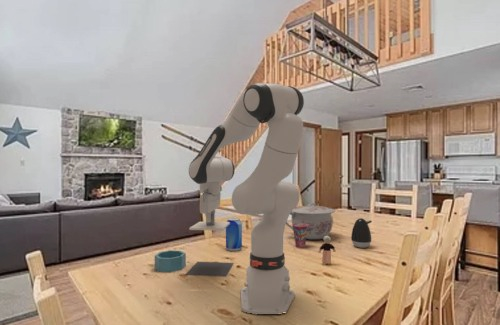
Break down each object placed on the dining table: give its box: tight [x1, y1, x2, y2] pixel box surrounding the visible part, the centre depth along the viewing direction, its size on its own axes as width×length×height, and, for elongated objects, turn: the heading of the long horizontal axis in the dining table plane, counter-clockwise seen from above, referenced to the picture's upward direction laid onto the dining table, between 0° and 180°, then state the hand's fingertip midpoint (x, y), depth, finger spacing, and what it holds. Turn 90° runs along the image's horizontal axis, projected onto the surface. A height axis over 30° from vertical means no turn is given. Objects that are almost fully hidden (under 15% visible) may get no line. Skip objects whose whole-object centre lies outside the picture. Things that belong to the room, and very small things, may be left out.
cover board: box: [188, 213, 230, 231], centre depth 135 cm, size 14×14×5 cm
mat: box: [184, 261, 235, 278], centre depth 135 cm, size 17×17×1 cm
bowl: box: [154, 249, 187, 273], centre depth 137 cm, size 12×12×6 cm
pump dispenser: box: [350, 217, 372, 249], centre depth 169 cm, size 10×10×15 cm
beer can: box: [225, 217, 243, 252], centre depth 166 cm, size 8×8×16 cm
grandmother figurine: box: [317, 235, 337, 266], centre depth 141 cm, size 8×4×13 cm, turn 105°
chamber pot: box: [285, 202, 336, 241], centre depth 191 cm, size 28×28×21 cm
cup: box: [291, 223, 310, 249], centre depth 170 cm, size 9×8×12 cm
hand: (210, 221), depth 135 cm, fingers closed on cover board, 4 cm apart
